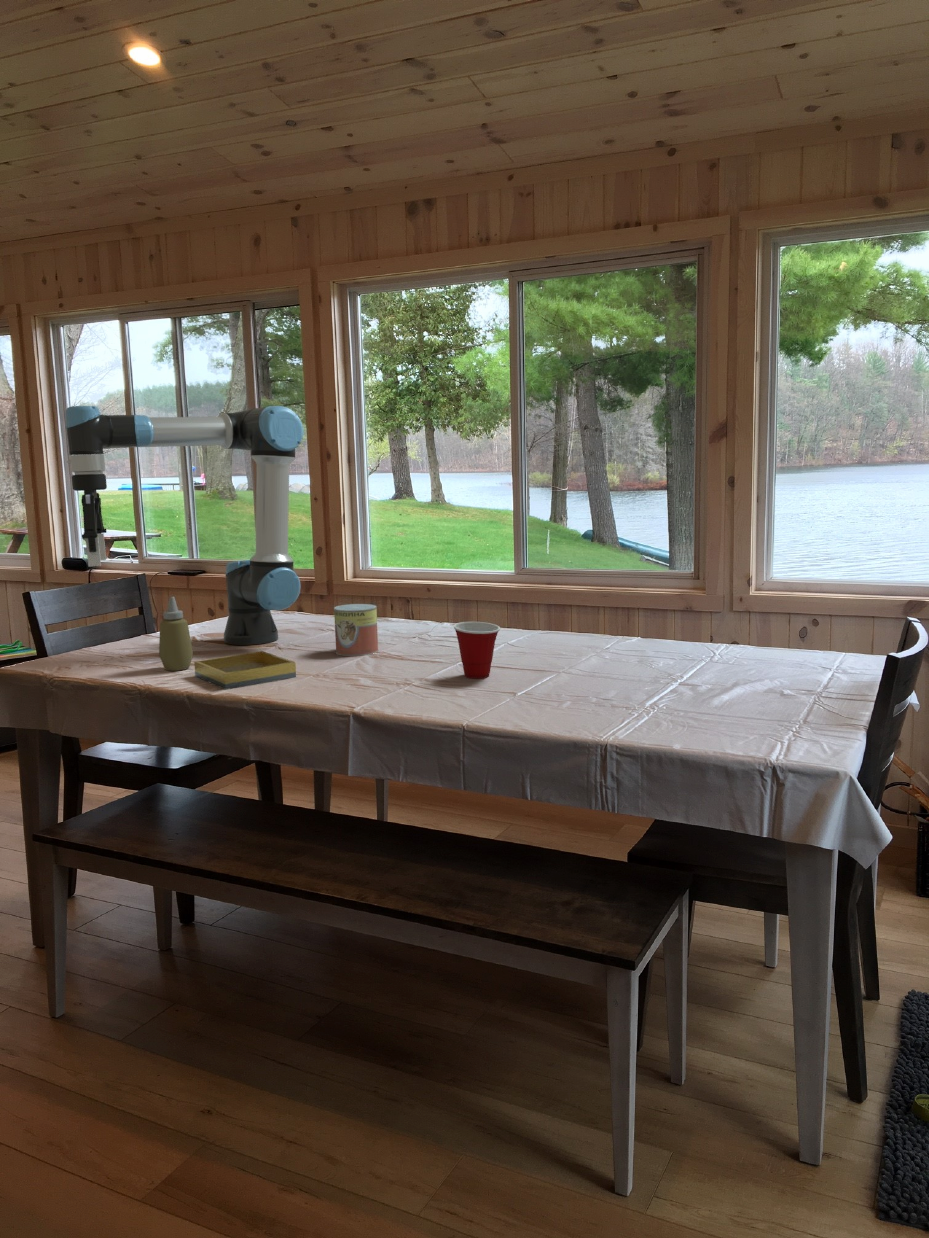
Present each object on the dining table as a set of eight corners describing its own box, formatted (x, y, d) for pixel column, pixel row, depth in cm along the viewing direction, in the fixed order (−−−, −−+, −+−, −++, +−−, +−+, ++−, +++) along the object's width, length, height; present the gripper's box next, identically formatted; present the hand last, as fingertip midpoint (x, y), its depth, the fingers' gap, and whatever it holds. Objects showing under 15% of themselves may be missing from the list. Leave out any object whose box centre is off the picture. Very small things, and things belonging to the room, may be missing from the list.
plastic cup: (485, 683, 208) (484, 630, 206) (445, 678, 214) (444, 626, 212) (509, 673, 217) (509, 623, 215) (470, 668, 223) (469, 619, 221)
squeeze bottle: (184, 672, 226) (178, 599, 223) (153, 672, 227) (148, 599, 224) (200, 665, 234) (194, 594, 231) (170, 664, 235) (165, 594, 232)
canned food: (327, 654, 244) (325, 609, 242) (348, 646, 254) (346, 603, 252) (366, 657, 239) (364, 611, 237) (385, 648, 250) (384, 604, 248)
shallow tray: (263, 665, 232) (262, 651, 232) (296, 677, 219) (295, 662, 218) (195, 676, 222) (194, 661, 221) (225, 689, 208) (224, 673, 207)
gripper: (77, 473, 229) (86, 558, 233) (64, 474, 206) (74, 569, 210) (109, 472, 231) (118, 556, 235) (100, 473, 208) (109, 567, 212)
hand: (97, 563), depth 222 cm, fingers open, 13 cm apart
